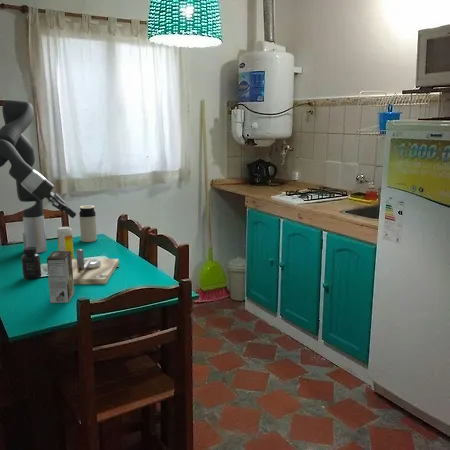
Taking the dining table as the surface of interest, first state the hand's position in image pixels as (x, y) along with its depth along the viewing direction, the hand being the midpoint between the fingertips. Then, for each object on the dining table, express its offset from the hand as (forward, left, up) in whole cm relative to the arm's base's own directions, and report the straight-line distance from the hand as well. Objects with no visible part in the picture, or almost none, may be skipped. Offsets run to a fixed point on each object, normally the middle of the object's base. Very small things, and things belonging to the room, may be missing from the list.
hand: (74, 216), depth 180 cm
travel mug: (-12, +63, -26) cm, 70 cm away
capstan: (+1, +7, -24) cm, 25 cm away
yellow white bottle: (-13, +27, -26) cm, 40 cm away
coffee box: (-1, -19, -26) cm, 32 cm away
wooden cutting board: (+1, +9, -26) cm, 27 cm away
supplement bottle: (-20, +5, -26) cm, 33 cm away
